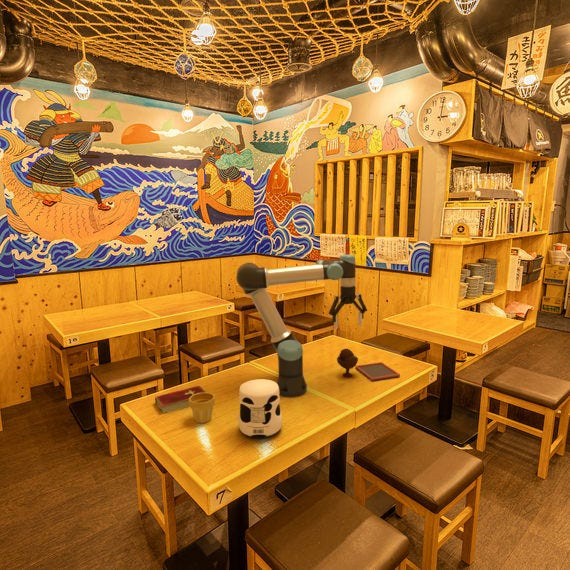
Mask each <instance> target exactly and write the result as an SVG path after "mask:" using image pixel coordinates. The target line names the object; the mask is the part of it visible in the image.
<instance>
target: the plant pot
mask: <svg viewBox="0 0 570 570" xmlns="http://www.w3.org/2000/svg"><path fill="white" fill-rule="evenodd" d="M215 398H216V397H215V394H213V393H211V392H207V391H205V392H203V393H197V394H194V395H192V396H191V397H190V398H189V405H190V406H189V408H190V409H191V410H192V416H193V419H194V421H195V422H196V423H198V424H205V423H208V422H210V421H211V420H212V416H213V409H214V406H215V404H216V402H215V401H216V400H215Z"/></svg>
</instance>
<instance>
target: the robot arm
mask: <svg viewBox="0 0 570 570" xmlns="http://www.w3.org/2000/svg"><path fill="white" fill-rule="evenodd" d="M315 263H316V264H307V265H298V266H288V267H287V266H286V267H279V268H278V267H276V268H267V267H264V266H263V267H259V266H258V265H257V264H256V263H253V262H246V263H243V264H241V265H240V266H239V267H238V268H237V270H236V283H237V285H238V286H239V287H240V289H242V290H243V292H244V294H245V295H246V296H249V297H250V299H251V300H252V303H253V304H254V306H255V308H256V309H257V311H258V314H259V315H260V317H261V320H262V321H263V323H264V325H265V327H266V329H267V331H268V333H269V335H270V336H271V339H270V342H271V345H272V347H273V348H274V349H275V352H276V355H277V363H278V364H277V365H278V366H277V367H278V377H277V379H276V383H277V384H278V386H279V396H281V397H285V398H296V397H301V396H303V395H305V394H306V393H307V391H308V385H307V383H306V380H305V377H304V362H303V361H304V359H303V353H304V349H303V345H302V344H301V342H299V341H298V340H297V338H296V337H295V336H294V334H293V331H292V329H288V328H287V327H286V324H285V323H284V320H283V318H282V317H281V315H280V313H279V311H278V308H276V306H275V303H274V301H273V300H272V298H271V296H270V294H269V292H268V290H267V289H268V288H269V287H271V286H279V285H286V284H287V285H288V284H297V283H305V282H316V281H326V280H331V281H338V280H340V281H339V282H340V283H339V285H340V289H339V290H340V292H339V293H340V296H339V295H334V297H333V302H332V304H331V307H330V309H329V311H328V315H330V316H332V319H331V320H332V322H333V327H334V329H337V330H338V326H339V323H338V321H339V320H338V315H337V314H338V313H339V312H340V311H341V309H342V308H343V306H345V305H353V306H355V308H356V309H357V310H358V311H359V312H357V313H358V315H357V317H358V319H357V320H358V321H357V322H358V326H360V327H362V326H363V319H364V314H365V313H366V312H368V309H367V307H366V304H365V303H364V300H363V298H362V294H360V293H357V294H356V289H357V287H356V265H357V263H356V256H355V255H354V254H341V255H340V256H339V258H337V259H320V260H317V261H316V262H315ZM356 299H357V301H358V302H359V303H358V302H357V301H356Z"/></svg>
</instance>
